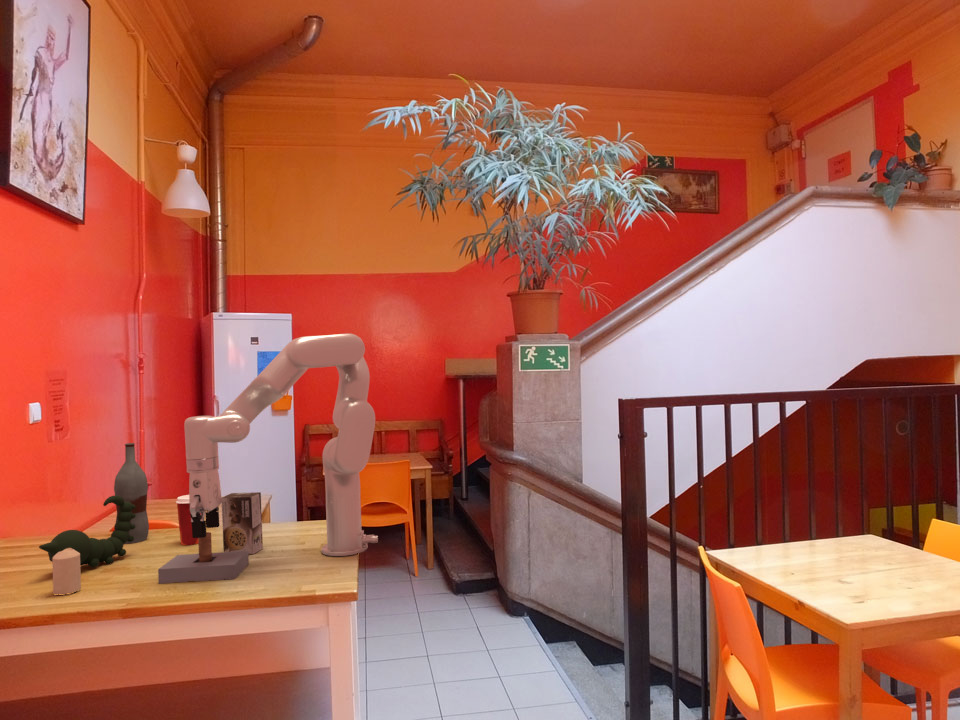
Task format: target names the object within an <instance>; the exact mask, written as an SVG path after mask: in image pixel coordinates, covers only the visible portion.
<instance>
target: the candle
mask: <svg viewBox="0 0 960 720" xmlns="http://www.w3.org/2000/svg"><path fill="white" fill-rule="evenodd" d="M51 563H52V591H53V592H52V594H53V595H54V594H58V595H59V594H67V593H72V592H75V591H78V590H80V589H82V581H81V580H82V575H81V574H82V573H81V566H80V553H79V552H77V551H75V550H74V549H72V548H67V549H64V550H63V551H61V552H58V553H57V554H56V555H55V556H54V557H53V558H52V561H51ZM80 591H81V590H80ZM78 592H79V591H78Z"/></svg>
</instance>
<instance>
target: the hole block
mask: <svg viewBox="0 0 960 720" xmlns="http://www.w3.org/2000/svg"><path fill="white" fill-rule="evenodd" d="M249 562H250V561H249V554H248V551H237V552H224V551H223V552H212V562H199V553H189V554H188V553H185V554H176V556H173V558H171V559H170V560H169V561H167V562H166V563H164V564H163V565H161V567H159V568H158V569H157V571H158V574H157V575H158V577H157V578H158V584H175V583H174V582H178V583H189V582H188V581H195V582H207V581H209V580H211V581H223V580H224V579H225V580H227V581H228V580H236V579H237V577H238V576H239V575H240V574H241V573H242V572H243V571H244V570H245V569H246V568H247V567H248V566H249Z"/></svg>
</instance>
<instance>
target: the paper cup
mask: <svg viewBox="0 0 960 720" xmlns="http://www.w3.org/2000/svg"><path fill="white" fill-rule="evenodd" d="M175 503H176V506H177V519H178V527H179V538H180V545H181V546H187V547H188V546H193V545H194V544H195V545H199V543H198V538H193V537H192V522H191V515H190V514H191V512H190V501H189V494H186V495H181V496H178V497H177V498H176V501H175ZM200 515H201V513H200ZM195 545H194V546H195Z"/></svg>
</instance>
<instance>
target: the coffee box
mask: <svg viewBox="0 0 960 720" xmlns="http://www.w3.org/2000/svg"><path fill="white" fill-rule="evenodd" d="M221 499H222V502H221V520H222V522H221V523H222V524H221V525H222V542H223V543H222V544H223V549H222V550H223V552H237V551H248V555H254V554H256V553H258V552H259V551H261V550H262V548H263V549H264V544H263V543H264V541H263V521H262V519H263V517H262V516H263V514H262V494H261V492H258V491H257V492H231V493H229V494H227V495H225V496H223V497H222V496H221Z"/></svg>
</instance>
